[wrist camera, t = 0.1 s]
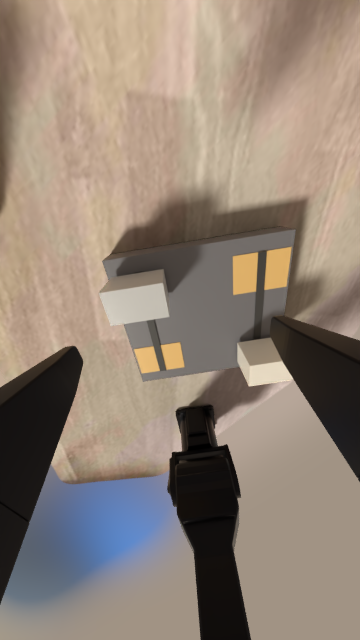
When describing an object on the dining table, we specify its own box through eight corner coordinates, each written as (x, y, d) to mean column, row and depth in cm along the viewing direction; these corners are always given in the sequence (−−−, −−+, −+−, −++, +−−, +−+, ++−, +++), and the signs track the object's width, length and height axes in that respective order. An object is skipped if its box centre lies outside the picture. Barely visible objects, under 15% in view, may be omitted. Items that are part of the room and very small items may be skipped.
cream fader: (277, 355, 25) (295, 379, 21) (237, 361, 25) (248, 386, 21) (279, 336, 23) (299, 358, 20) (237, 342, 23) (249, 366, 20)
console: (267, 347, 29) (278, 362, 26) (145, 365, 29) (142, 382, 26) (279, 226, 21) (296, 229, 18) (110, 254, 21) (101, 261, 18)
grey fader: (168, 297, 20) (169, 316, 17) (120, 305, 20) (111, 326, 17) (163, 268, 19) (162, 283, 15) (111, 277, 19) (98, 293, 15)
